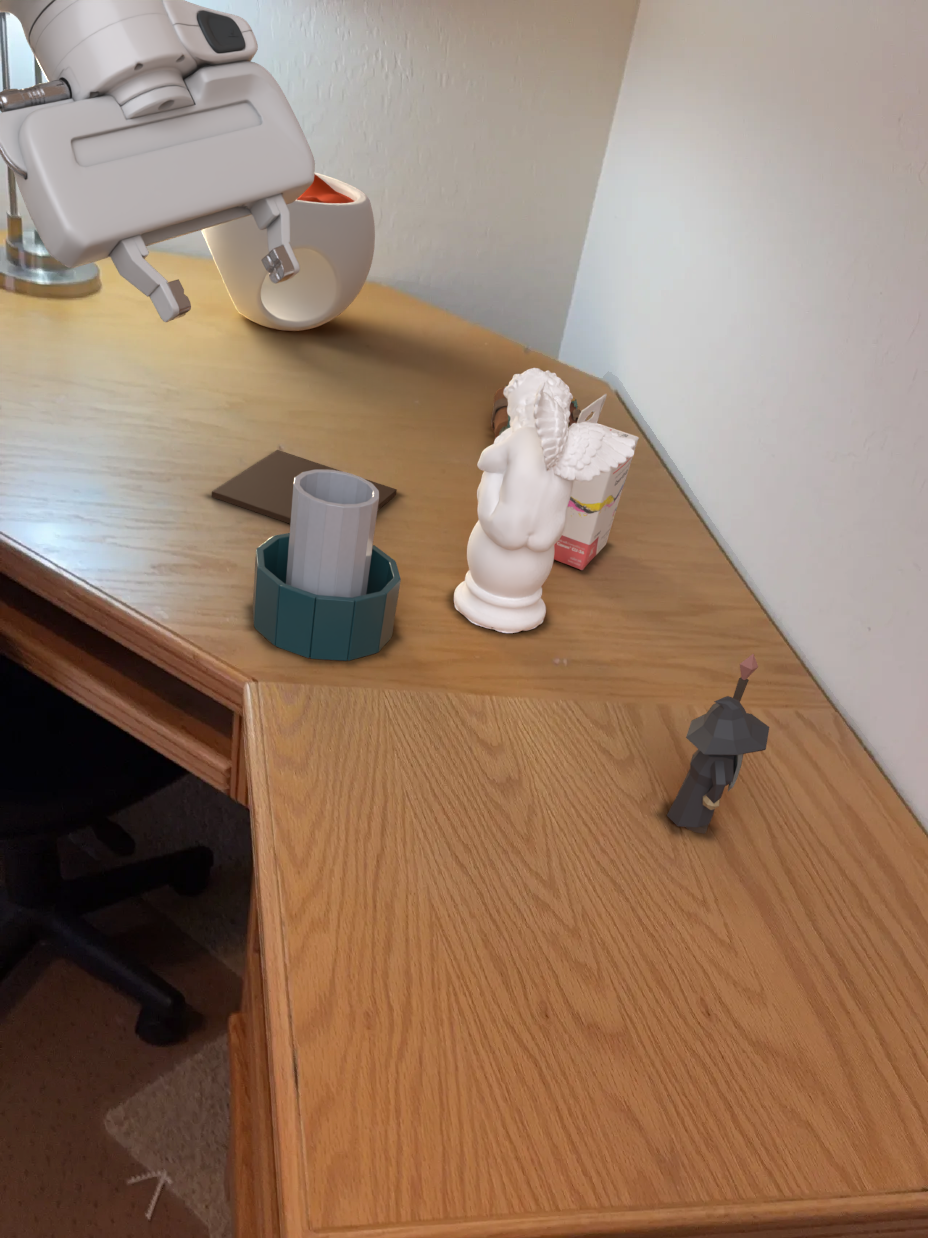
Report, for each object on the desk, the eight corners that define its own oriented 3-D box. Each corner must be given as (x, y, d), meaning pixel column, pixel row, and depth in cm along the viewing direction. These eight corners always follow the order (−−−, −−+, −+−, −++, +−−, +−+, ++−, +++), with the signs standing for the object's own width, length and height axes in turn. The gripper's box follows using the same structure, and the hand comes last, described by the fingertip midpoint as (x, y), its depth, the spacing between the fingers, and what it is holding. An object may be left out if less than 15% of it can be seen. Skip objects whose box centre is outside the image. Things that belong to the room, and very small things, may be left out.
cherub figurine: (467, 572, 102) (516, 331, 88) (590, 608, 102) (659, 371, 87) (435, 628, 93) (483, 370, 79) (570, 668, 93) (643, 415, 78)
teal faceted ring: (227, 629, 86) (230, 568, 83) (291, 575, 95) (296, 517, 92) (357, 676, 85) (365, 615, 82) (410, 616, 94) (419, 560, 90)
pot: (394, 331, 154) (412, 191, 143) (306, 364, 137) (318, 207, 125) (255, 282, 159) (261, 143, 147) (152, 307, 142) (151, 151, 130)
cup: (269, 626, 88) (279, 487, 80) (304, 595, 93) (316, 461, 85) (342, 652, 87) (358, 514, 79) (373, 619, 92) (391, 487, 84)
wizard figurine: (733, 851, 78) (796, 716, 70) (661, 842, 77) (716, 705, 69) (709, 781, 84) (764, 651, 76) (642, 773, 83) (691, 640, 75)
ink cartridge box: (584, 572, 107) (625, 427, 98) (539, 556, 108) (575, 410, 98) (609, 544, 114) (649, 405, 104) (566, 528, 114) (602, 389, 105)
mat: (211, 497, 104) (211, 491, 103) (276, 454, 114) (277, 449, 114) (341, 541, 102) (342, 535, 102) (396, 494, 112) (397, 489, 112)
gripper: (-15, 64, 58) (123, 321, 62) (267, 16, 68) (367, 238, 73) (-44, 127, 62) (87, 360, 67) (224, 73, 73) (320, 277, 78)
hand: (235, 296), depth 70 cm, fingers open, 8 cm apart
